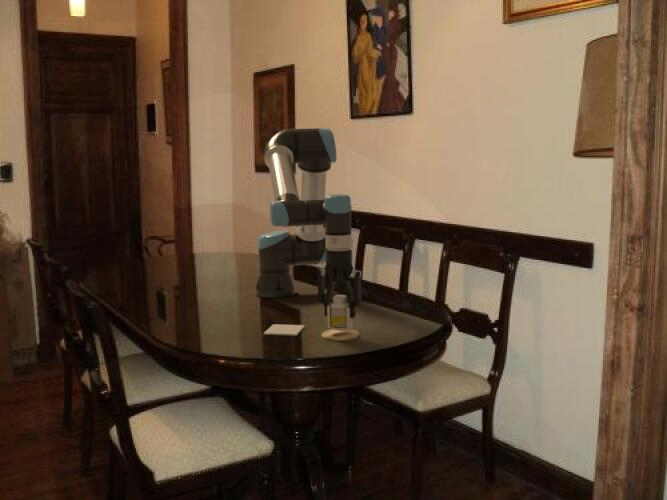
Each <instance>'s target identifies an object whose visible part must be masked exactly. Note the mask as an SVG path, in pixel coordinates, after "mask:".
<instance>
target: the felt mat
mask: <svg viewBox="0 0 667 500" xmlns="http://www.w3.org/2000/svg"><path fill="white" fill-rule="evenodd" d="M305 327H306V326H305V325H304V324H277V323H276V324H275V323H274V324H272V325H270V326H269V328H268V329H267V330H265V331H264V332H263V336H264V335H267V336H268V335H269V336H293V337H296V336H298V335H299V334H300V333H301V331H303V329H304V328H305Z"/></svg>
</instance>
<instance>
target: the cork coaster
mask: <svg viewBox="0 0 667 500" xmlns="http://www.w3.org/2000/svg"><path fill="white" fill-rule="evenodd" d="M359 337H360V332H359V331H358V330H356V329H353V328H351V329H350V330H342V331H338V330H333V329H332V328H330V329H327V330H324V331H322V332H321V338H322V339H324V340H327V341H334V342H346V341H351V340H352V341H353V340H355V339H356V340H357V339H358V338H359Z"/></svg>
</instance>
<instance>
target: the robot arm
mask: <svg viewBox="0 0 667 500" xmlns="http://www.w3.org/2000/svg"><path fill="white" fill-rule="evenodd" d="M263 152H264V153H263V156H264V157H263V159H264V164H265V165H266V166H267V167H268V169H269V175H270V181H271V187H272V193H273V198H274V199H273V200H274V201H271V202H270V203H269V218H270V219H269V221H270V224H271V225H272V226H273V227H282V228H287V227H297V228H296V230H295V234H294V233H293V234H290V232H289V230H286V229H285V230H276V231H275V230H274V231H269V232H266V233H264V234H261V235H260V236H258V239H257V245H258V246H257V250H258V277H257V282H256V284H255V289H254V294H255V296H257V297H259V298H260V297H261V298H268V299H269V298H270V299H271V298H273V299H274V298H287V297H290V296H294V295H295V294H296V285H295V282H294V280H293V277H292V274H291V266H302V265H303V266H304V265H315V266H316V265H320V264H321V265H323V264H325V266H324V268H318V269H316V270H315V273H316V275H317V302H318V304H322V305H323V307H324V309H323V310H324V316H325V317H327V318H326V319H327V320H326V321H327V329H332V327H331V304H332V300H333V293H334V290H335V285H336V283H337V282H341V285H342V286H343V289H344V293H345V295H346V296H347V303H348V304H349V306H348V307H347V330H350V329H354V328H353V327H354V325H353V324H354V323H353V322H354V321H353V319H355V318H356V308H357V307H358V306H360V305H361V304H362V301H363V300H362V275H363V270H358V269H355V268H354V267H353V263H352V262H353V252H352V249H351V248H352V245H353V243H352V242H353V240H352V200H351V199H352V198H351V197H350V195H349V194H338V193H337V194H327V195H326V184H327V182H326V181H327V172H329V171H330V170H331V168H332V164H334V163H336V162H337V158H338V157H337V148H336V141H335V136H334V132H333V131H332V130H331V129H330V128H320V127H318V128H316V127H315V128H287V129H286V128H285V129H282V130H280V131H278V132H277V133H276V134H274V135H273V136H272V137H271V138H270V139H269V140H268V142H267V143H266V145H265V148H264V151H263ZM293 164H297V168H298V169H299V170H300V171H301V184H300V185H301V187H300V189H301V191H300V196H299V190H298V186H297V185H298V184H297V180H296V176H295V172H294V166H293ZM326 274H327V276H328V280H327V281H328V284H327V286H326ZM351 275H352V277H353V286H354V287H353V288H354V289H353V288H352V285H351V279H350V277H351ZM326 287H327V289H326ZM353 290H354V291H353Z"/></svg>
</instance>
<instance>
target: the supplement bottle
mask: <svg viewBox="0 0 667 500" xmlns="http://www.w3.org/2000/svg"><path fill="white" fill-rule="evenodd" d="M330 304H331V329H333V330H338V331H342V330H347V307H348V306H349V303H348V300H347V296H346V294H334V295H332V302H331V303H330Z"/></svg>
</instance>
